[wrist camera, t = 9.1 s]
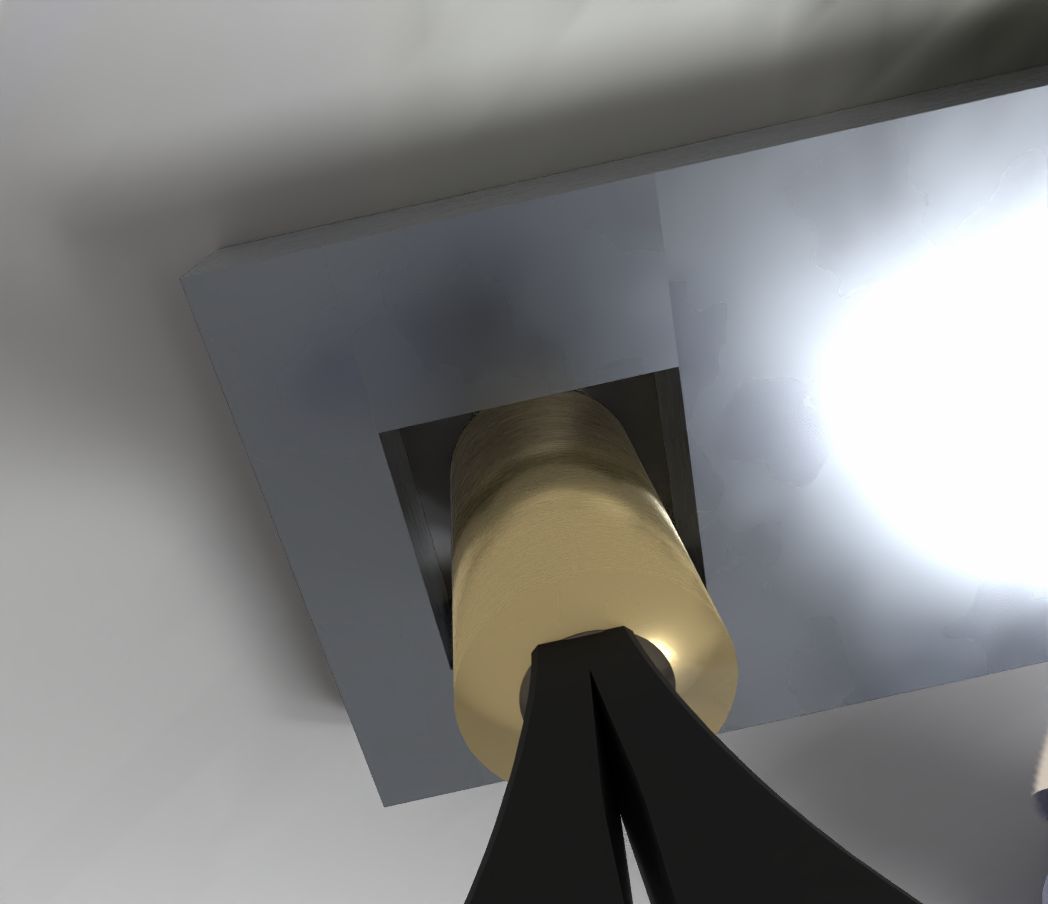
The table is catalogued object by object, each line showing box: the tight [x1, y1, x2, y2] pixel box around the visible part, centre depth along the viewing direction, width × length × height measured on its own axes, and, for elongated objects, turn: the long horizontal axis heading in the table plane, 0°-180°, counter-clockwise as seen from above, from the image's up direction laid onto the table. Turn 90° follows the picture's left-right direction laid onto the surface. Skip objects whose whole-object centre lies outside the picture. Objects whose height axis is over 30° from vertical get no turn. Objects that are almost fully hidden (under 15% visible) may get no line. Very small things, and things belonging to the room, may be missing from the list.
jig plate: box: [180, 64, 1048, 807], centre depth 17 cm, size 12×18×2 cm, turn 101°
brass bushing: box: [450, 390, 738, 782], centre depth 15 cm, size 4×4×7 cm
